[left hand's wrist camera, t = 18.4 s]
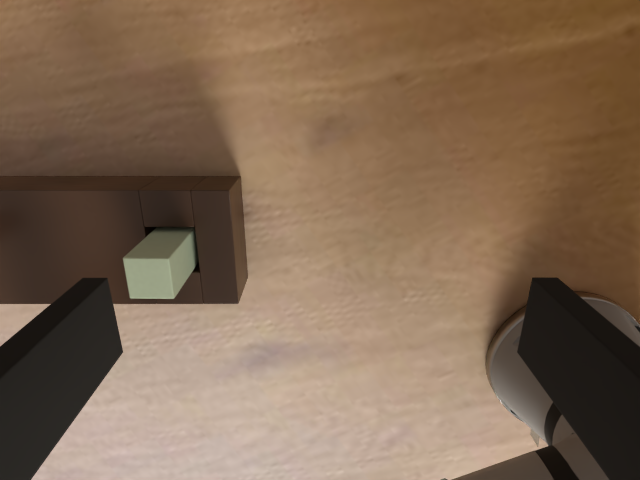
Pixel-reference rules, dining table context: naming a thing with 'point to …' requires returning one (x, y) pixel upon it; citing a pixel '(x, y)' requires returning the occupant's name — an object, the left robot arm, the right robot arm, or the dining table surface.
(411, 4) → the dining table surface
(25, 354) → the left robot arm
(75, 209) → the peg block
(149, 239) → the peg
